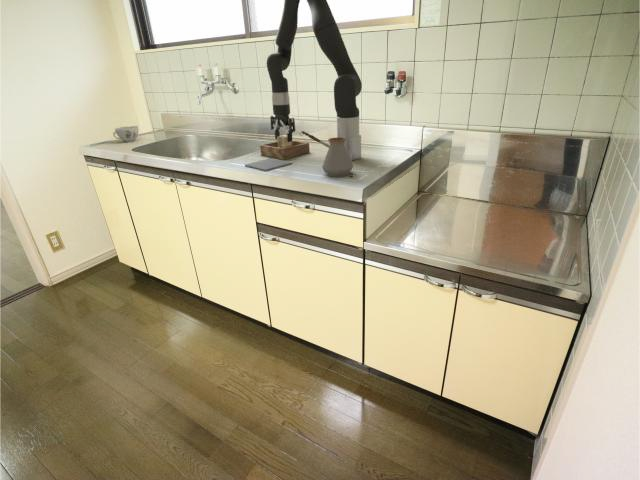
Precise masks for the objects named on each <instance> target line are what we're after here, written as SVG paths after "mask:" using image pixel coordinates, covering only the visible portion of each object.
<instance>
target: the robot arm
mask: <svg viewBox="0 0 640 480" xmlns="http://www.w3.org/2000/svg"><path fill="white" fill-rule="evenodd" d="M300 1H301V0H284V1H283V9H282V14H281V18H280V22H279V25H278V26H279V27H278V29H277V33H276V36H275V45H276V46H277V50H276V52H271V53H269V55H268V56H267V59H266V68H267V72H268V76H269V79H270V82H271V92H272V93H271V95H272V96H271V101H272V103H271V104H272V113H273V115H271V116H270V129H271V130H273V132H274V138H275V140H276V141H277V137H278V136H281V133H280V128H283V129H284V130H285V131H286V135H287V141H288V142H291V141H292V140H293V133H295V132H296V123H295V122H296V121H295V117H289V116H290V114H291V106H290V105H291V104H290V95H289V94H290V93H289V83H288V79H287V78H286V77H285V76H284V74H283V73H284V72H283V71H286V70H287V69H288V68H289V66H290V63H291V59H292V58H291V57H292V49H293V45H294V40H295V37H296V35H297V30H298V23H299V22H298V20H299V19H298V18H299V17H298V15H299V14H298V13H299V5H300ZM306 2H307V5H308V7H309V9H310V14H311V24H312V31H313V35H314V36H315V38H316V41H317V43H318V46H319V48H320V49H321V52H322V53H323V54H324V55H325V57H326V58H327V60H329V62H330V63H331V64H332V66H333V68H334V70H335V72H336V74H337V78H336V79H335V81H334V85H333V97H334V99H333V101H334V110H335V112H336V133H337V134H336V138H339V137H342V138H345V139H346V140H345V143H344V146H345V148H346V150H347V152H348V155H349V157H350V159H351V162H352V161H356V160H358V159H361V158H362V135H360V109H359V107H358V106H357V97H358V96H359V95H360V94H361V91H362V85H363V84H362V80H361V77H360V76H359V74H358V72H357V69H356V68H355V66H354V64H353V63H352V60H351V58H350V56H349V53H348V50H347V47H346V45H345V42H344V40H343V37H342V33H341V31H340V28H339V26H338V24H337V22H336V19H335V17H334V15H333V12H332V10H331V8H330V5H329V3H328V1H327V0H306Z"/></svg>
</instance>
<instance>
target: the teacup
mask: <svg viewBox="0 0 640 480" xmlns="http://www.w3.org/2000/svg"><path fill="white" fill-rule="evenodd" d="M114 130H115V131H113V133H112V135H113V137H114V138H115V139H117V140H122V141H123V142H125V143H131V142H132V143H133V142H135V141H136V139H137V138H138V136H139V126H138V125H134V126H133V125H132V126H120V127H116V128H115V129H114ZM116 135H117V136H118V137H117V136H116Z"/></svg>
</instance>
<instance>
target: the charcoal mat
mask: <svg viewBox="0 0 640 480" xmlns="http://www.w3.org/2000/svg"><path fill="white" fill-rule="evenodd" d="M292 164H293V162H291V161H287V160H283V159H279V158H274V157H270V158H266V159H262V160H261V159H260V160H258V161H254V162H249V163H247V164H244V167H247V166H248V168H251V167H252V169H254V168H256V170H258V169H259V171H262V170H263V172H269V171H271V170H275V169H280V168H282V167H286V166H290V165H292Z"/></svg>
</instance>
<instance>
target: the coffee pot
mask: <svg viewBox="0 0 640 480" xmlns="http://www.w3.org/2000/svg"><path fill="white" fill-rule="evenodd" d="M303 135H305V136H306V137H308V138H310V139H311V140H313V141H316V142H317V143H319V144H321V145H323V146H325V147H327V148H328V150H327V151H326V152H327V153H326V155H325V158H324V160H323V164H322V165H321V168H322V170H323V172H324V173H326V174H327V175H328V176H329V177H334V178H335V177H336V178H337V177H338V178H339V177H344V176H348V175H349V173H351V171H352V170H353V168H354V164H353V162H352V161H351V159H350V157H349V155H348V152H347V150H346V148H345V146H344V143H345V140H346V139H345V138H342V137H339V138H337V137H331V138H328V142H329V144H328V143H326V142H323V141H322V140H321V139H319V138H318V137H315V136H314V135H312V134H310V133H308V132H306V131H303V130H302V131H301V132H300V134H299V137H302V136H303Z"/></svg>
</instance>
